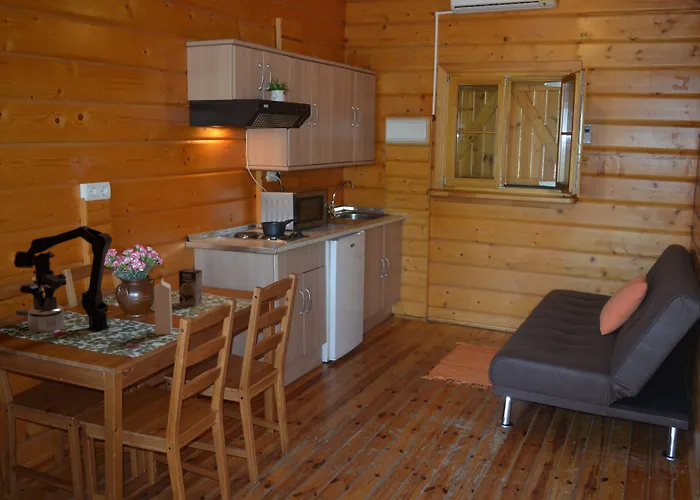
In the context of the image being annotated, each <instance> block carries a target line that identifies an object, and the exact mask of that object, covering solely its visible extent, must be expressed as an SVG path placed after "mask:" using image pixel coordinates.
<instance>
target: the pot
mask: <svg viewBox="0 0 700 500" xmlns="http://www.w3.org/2000/svg"><path fill="white" fill-rule="evenodd" d="M15 314H16V315H15V316H23V317H27V326H28V330H30V331H32V332H41V333H42V332H49V331H52V332H53V331H56V330H58V329H62V328H64V326H65V316H64V315H65V314H64V310H62V311H60V312H59V313H57V314H54V315H48V316H35V315H33V314H29V313H28V310H26V309H18V310H16V311H15Z"/></svg>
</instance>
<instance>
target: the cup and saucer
mask: <svg viewBox="0 0 700 500" xmlns="http://www.w3.org/2000/svg"><path fill="white" fill-rule="evenodd" d="M32 296H33V295H32ZM57 299H58V298H57V296H54V295H53V296H46V295H45V294H43V307H40V305H39V304H38V302H37V300H36V299H35V297H34V296H33V297H32V300H33V306H32V307H30V308H28V309H27V311H28V313H29V314H33V315H35V316H48V315H54V314H57V313H59V312H60V311H64V306H63V305H61V304H58V300H57Z"/></svg>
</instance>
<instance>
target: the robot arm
mask: <svg viewBox="0 0 700 500" xmlns="http://www.w3.org/2000/svg"><path fill="white" fill-rule="evenodd" d="M78 238H81V239H83V240H84V241H85V242H87V243H89V244H90V245H91V252H92V255H93V258H92V264H91V269H90V277H89V284H88V288H87V290H86V291H84V292H82V293H81V301H80V304H81V307H82V308H83V310H84V311H85V313H86V315H87V317H88V327H86V329H87V330H91V331H99V332H100V331H103V330H105V329H108V328H110V325H108V318H107V317H108V316H107V314H108V313H107V312H108V309H109V305H107V304H106V303H105V301H103V293H102V290H101V289H102V282H103V274H104V269H105V263H106V256H107V254H108V253H109V251H110V249H111V246H112V242H113V238H112V237H111V235H110V234H109V233H107V232H103V231H102V232H101V231H99V230H96V229H94V228H91V227H89V226H87V225H82V226H81V225H80V226H78V227H76V228H75V229H71V230H68V231H65V232H61V233H59V234H55V235H47V236H41V237H37V238H35V239H32V240H31V243H30V247H29V248H28V250H27V251H22V250H19V251H16V254H15V257H14V260H13V264H14V267H15V268H17V269H32V268H34V270H33V271H32V274H34V275H35V280H34V281H33V283H27V284H22V285H21V286H20V288H19V290H20V293H24V294H30V295H32V296H34V297H35V299H36V300H37V302H38V304H39V305H40V307H43V295H46V296H54V294H55V293H56V291H57V290H58V289H60V288H62V287H63V286H66V285H67V280H66V275H65V274H64V273H60V274H54V269H53V270H52V269H51V260H50V259H52V258H54V257H56V255H55V254H54V253H53V252H51V251H50V250H51V249H53V248H54V247H56V246H57V245H59V244H62V243H66V242H69V241H72V240H75V239H78ZM46 251H47V252H46Z"/></svg>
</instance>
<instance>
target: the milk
mask: <svg viewBox="0 0 700 500" xmlns="http://www.w3.org/2000/svg"><path fill="white" fill-rule="evenodd" d="M160 280H161V281H160V282H158V283H157V284H156V285H154V288H153V297H154V298H153V303H154V324H155V325H154V328H155V329H154V330H155V336H156V335H171V334H172V333H173V332H172V331H173V311H172V308H173V307H172V286H171V284H169V283H168V282H166V281H164V277H162V278H161V279H160Z"/></svg>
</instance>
